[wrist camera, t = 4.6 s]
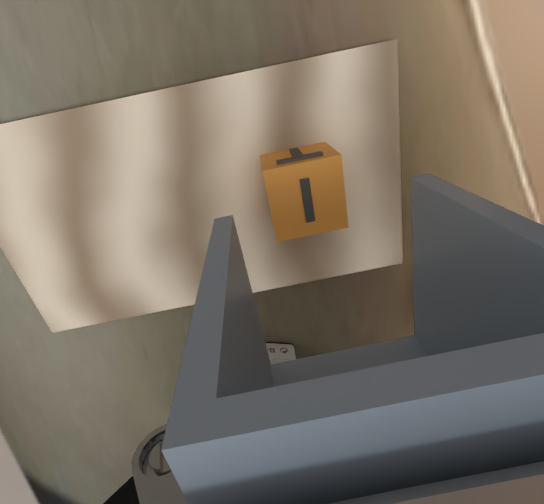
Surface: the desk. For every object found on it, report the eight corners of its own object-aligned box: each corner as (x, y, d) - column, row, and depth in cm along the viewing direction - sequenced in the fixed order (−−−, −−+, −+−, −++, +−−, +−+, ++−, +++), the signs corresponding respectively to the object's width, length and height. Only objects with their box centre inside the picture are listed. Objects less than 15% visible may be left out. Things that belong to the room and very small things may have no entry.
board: (390, 40, 20) (397, 38, 19) (397, 256, 26) (402, 263, 25) (-52, 135, 20) (-66, 138, 20) (58, 324, 27) (52, 332, 26)
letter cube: (332, 204, 23) (348, 228, 19) (272, 216, 23) (277, 242, 19) (324, 139, 21) (341, 151, 17) (259, 152, 21) (261, 168, 17)
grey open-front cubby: (429, 344, 14) (624, 612, 7) (259, 378, 14) (274, 676, 7) (429, 173, 11) (770, 328, 4) (214, 218, 11) (161, 450, 4)
